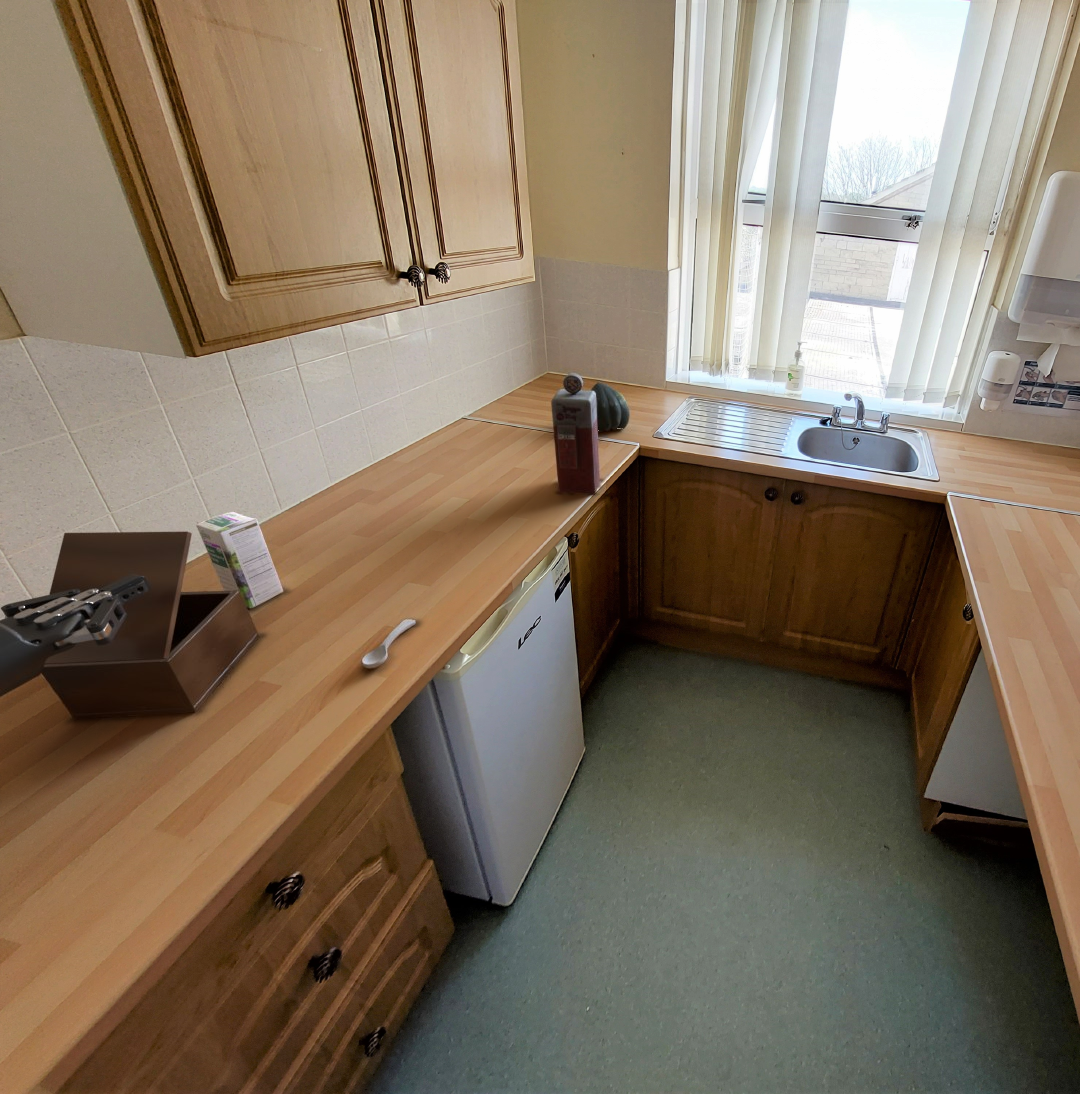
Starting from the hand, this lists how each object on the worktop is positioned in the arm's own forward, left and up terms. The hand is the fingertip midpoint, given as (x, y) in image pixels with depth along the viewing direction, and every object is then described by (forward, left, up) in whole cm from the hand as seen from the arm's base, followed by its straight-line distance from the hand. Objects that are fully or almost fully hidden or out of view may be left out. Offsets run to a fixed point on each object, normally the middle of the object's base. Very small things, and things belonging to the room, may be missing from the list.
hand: (142, 581), depth 69 cm
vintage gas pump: (+47, +67, -18) cm, 83 cm away
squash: (+52, +112, -18) cm, 125 cm away
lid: (-5, +2, -3) cm, 6 cm away
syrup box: (-4, +22, -18) cm, 29 cm away
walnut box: (-5, +3, -18) cm, 19 cm away
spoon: (+22, +7, -18) cm, 29 cm away
